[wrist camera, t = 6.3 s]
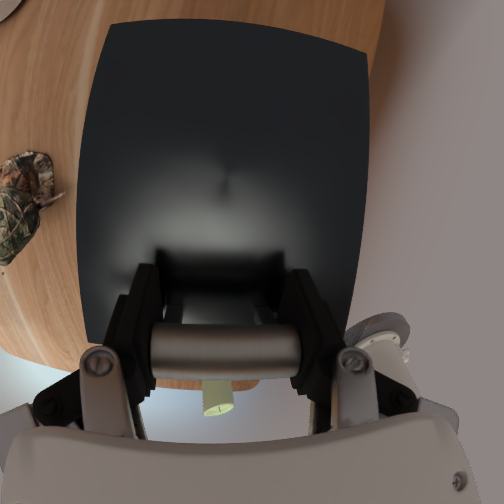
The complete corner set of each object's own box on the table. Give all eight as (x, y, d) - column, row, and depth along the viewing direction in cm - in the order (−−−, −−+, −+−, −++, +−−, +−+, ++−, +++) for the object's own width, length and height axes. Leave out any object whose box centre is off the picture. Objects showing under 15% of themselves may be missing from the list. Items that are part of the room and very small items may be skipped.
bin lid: (335, 339, 15) (383, 392, 10) (92, 335, 12) (54, 395, 7) (360, 58, 12) (415, 21, 7) (114, 31, 9) (85, -25, 4)
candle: (234, 367, 44) (239, 409, 37) (226, 381, 46) (230, 420, 39) (205, 363, 42) (207, 407, 35) (199, 378, 44) (200, 418, 38)
